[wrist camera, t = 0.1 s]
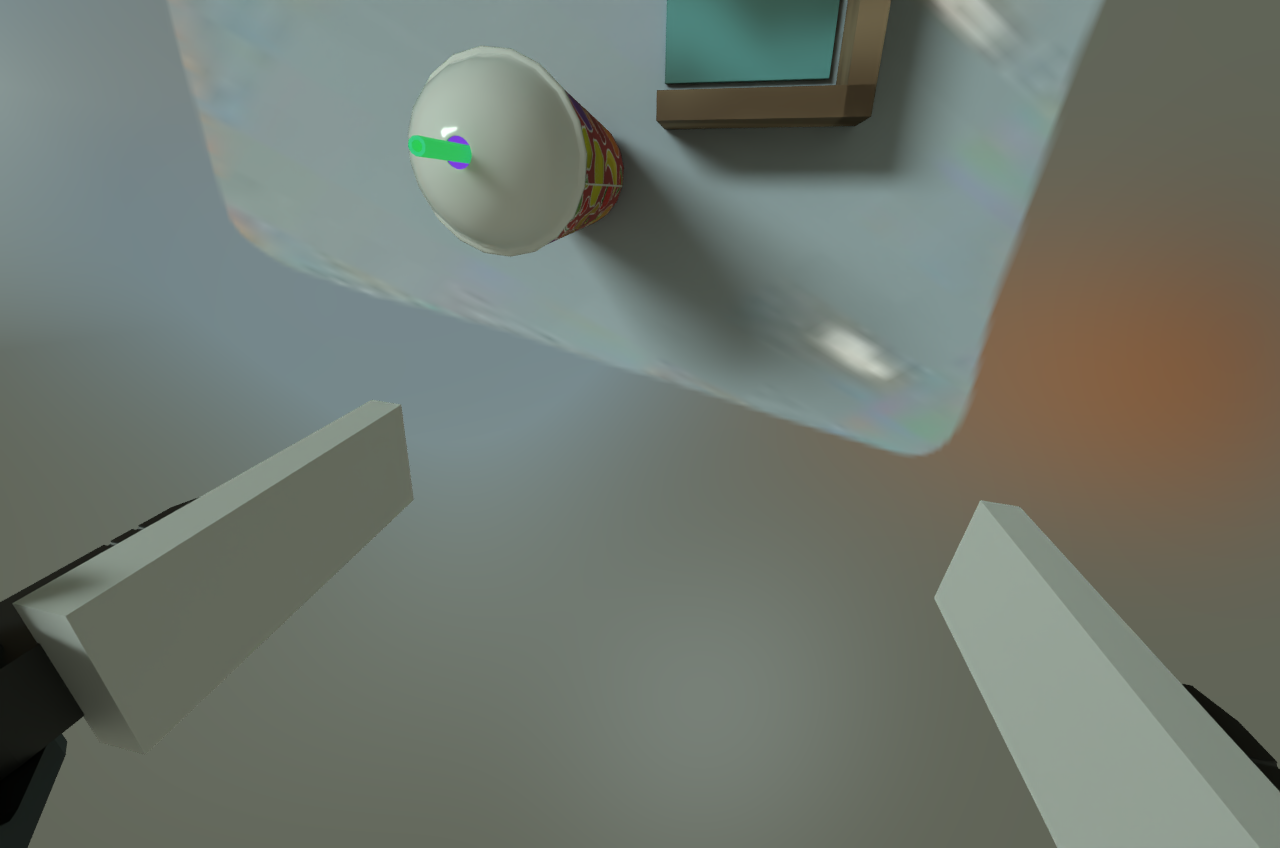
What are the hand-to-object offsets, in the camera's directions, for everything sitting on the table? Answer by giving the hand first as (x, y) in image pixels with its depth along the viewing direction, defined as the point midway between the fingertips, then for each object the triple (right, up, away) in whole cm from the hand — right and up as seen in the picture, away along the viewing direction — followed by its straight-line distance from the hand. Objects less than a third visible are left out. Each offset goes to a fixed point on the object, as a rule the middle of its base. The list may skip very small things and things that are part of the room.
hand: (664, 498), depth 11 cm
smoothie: (-5, +20, +23) cm, 31 cm away
